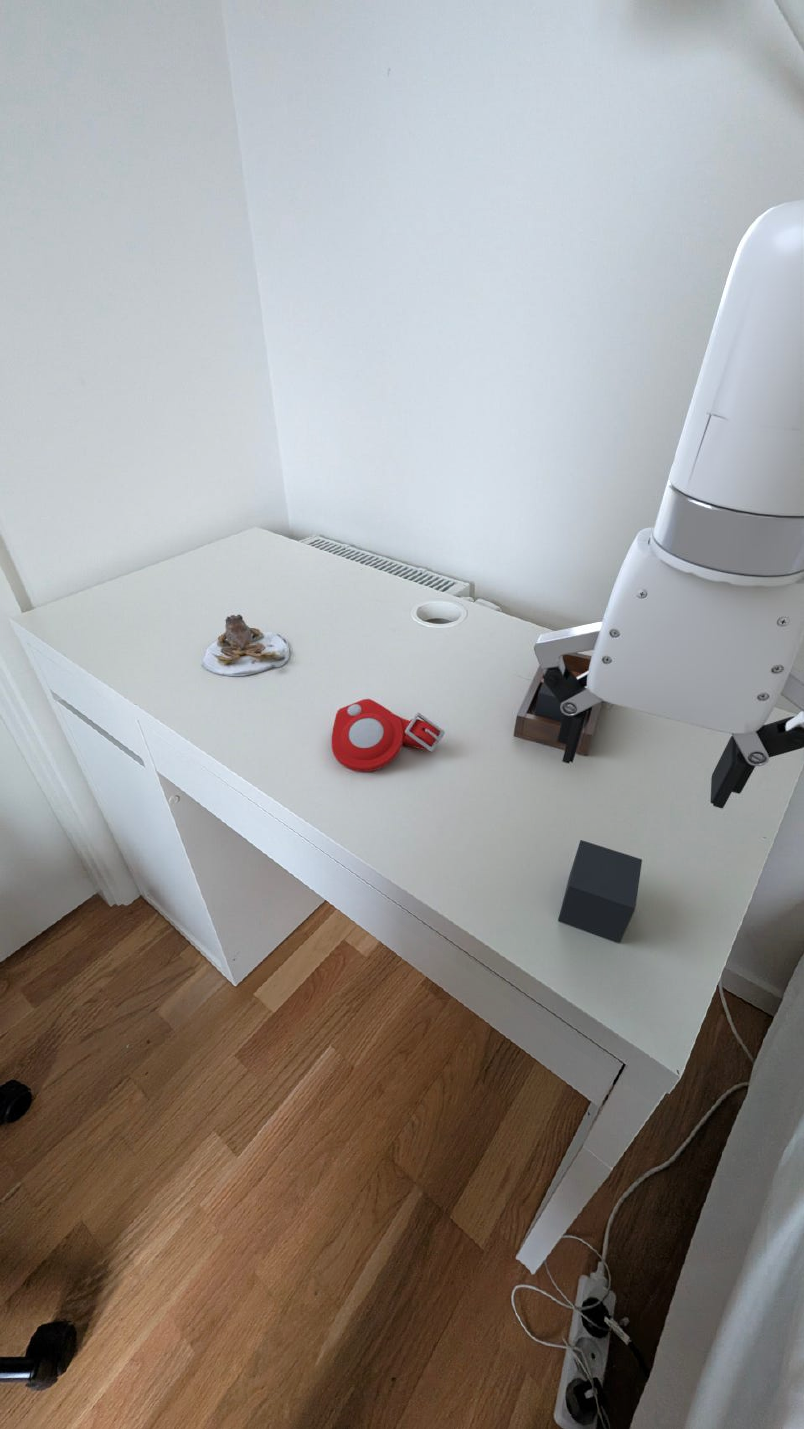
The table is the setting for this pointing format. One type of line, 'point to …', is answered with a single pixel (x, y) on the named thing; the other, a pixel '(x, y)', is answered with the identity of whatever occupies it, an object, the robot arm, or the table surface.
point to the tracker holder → (377, 735)
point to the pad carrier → (549, 729)
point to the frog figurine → (245, 650)
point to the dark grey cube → (548, 705)
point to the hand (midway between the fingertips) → (640, 771)
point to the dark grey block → (601, 891)
